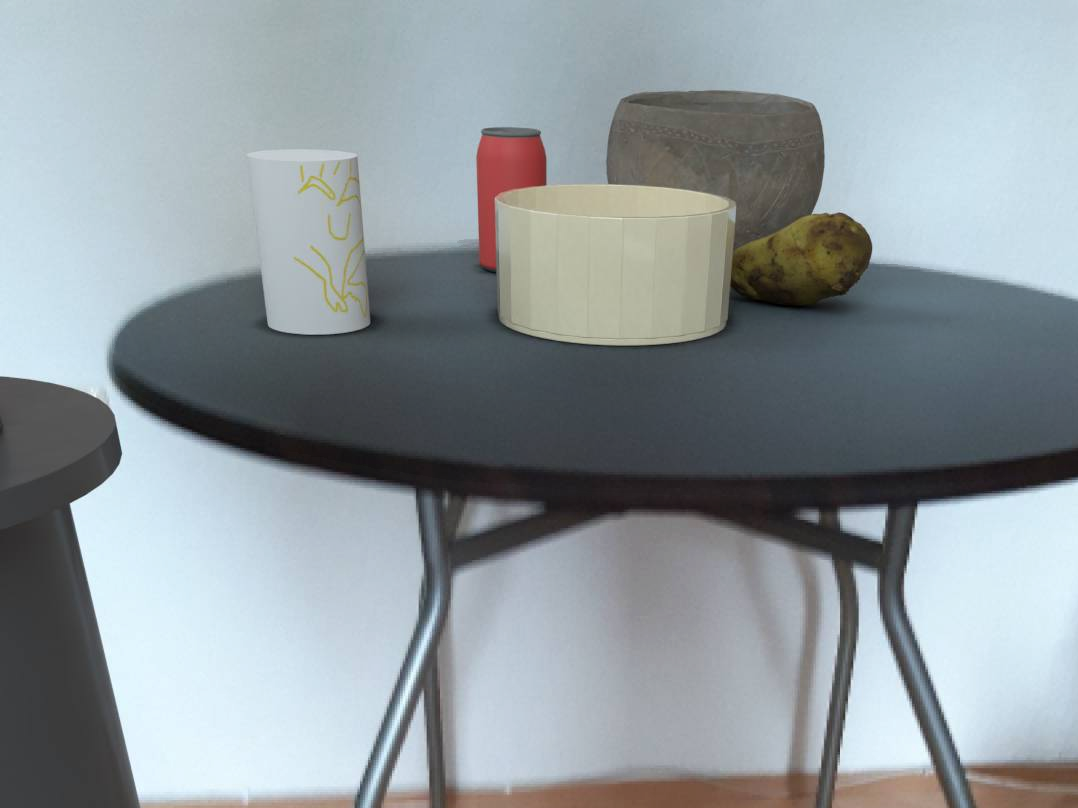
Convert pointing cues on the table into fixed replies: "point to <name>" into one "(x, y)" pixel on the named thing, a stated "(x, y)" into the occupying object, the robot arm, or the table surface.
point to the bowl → (723, 152)
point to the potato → (803, 261)
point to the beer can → (504, 176)
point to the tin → (614, 263)
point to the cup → (310, 240)
